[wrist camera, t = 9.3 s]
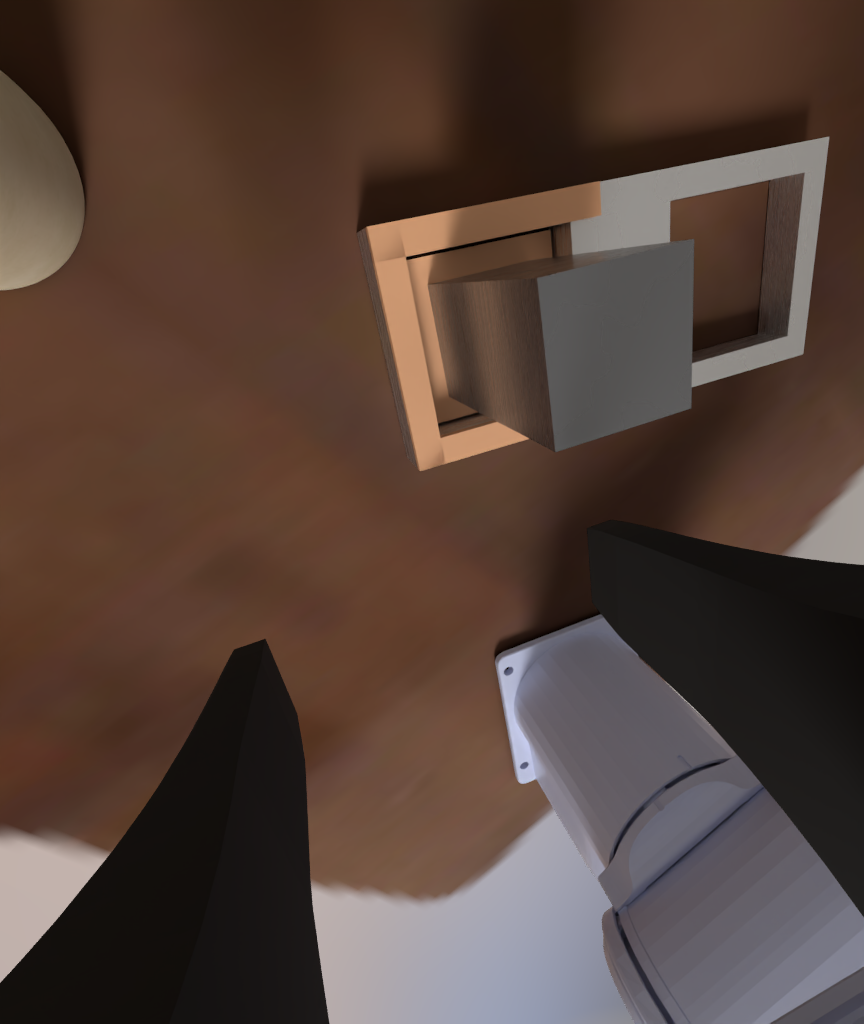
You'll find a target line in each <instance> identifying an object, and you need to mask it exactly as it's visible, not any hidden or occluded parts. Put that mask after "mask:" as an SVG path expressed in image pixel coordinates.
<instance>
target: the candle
mask: <svg viewBox="0 0 864 1024" xmlns="http://www.w3.org/2000/svg"><path fill="white" fill-rule="evenodd" d="M84 217H85V200H84V193H83V186H82V183H81V179H80V175H79V172H78V169H77V167H76V164H75V162H74V159H73V157H72V155H71V153H70V151H69V149H68V147H67V145H66V143H65V142H64V140H63V138H62V136H61V135H60V133H59V132H58V130H57V129H56V127H55V126H54V124H53V123H52V122H51V120H50V119H49V118H48V117H47V115H46V114H45V113H44V112H43V111H42V109H41V108H40V107H39V106H38V105H37V104H36V103H35V102H34V101H33V100H32V99H31V98H30V97H29V96H28V95H27V94H26V93H25V92H24V91H23V90H22V89H21V88H20V87H19V86H18V85H17V84H16V83H15V82H13V81H12V80H11V79H10V78H9V77H8V76H7V75H6V74H4V73H3V72H2V71H1V70H0V290H11V289H16V288H22V287H26V286H29V285H32V284H35V283H37V282H39V281H41V280H43V279H45V278H47V277H49V276H50V275H52V274H53V273H54V272H56V271H57V270H58V269H60V268H61V267H62V266H63V265H64V264H65V263H66V262H67V261H68V259H69V258H70V256H71V255H72V253H73V252H74V251H75V249H76V246H77V244H78V242H79V240H80V237H81V233H82V230H83V225H84Z"/></svg>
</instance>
